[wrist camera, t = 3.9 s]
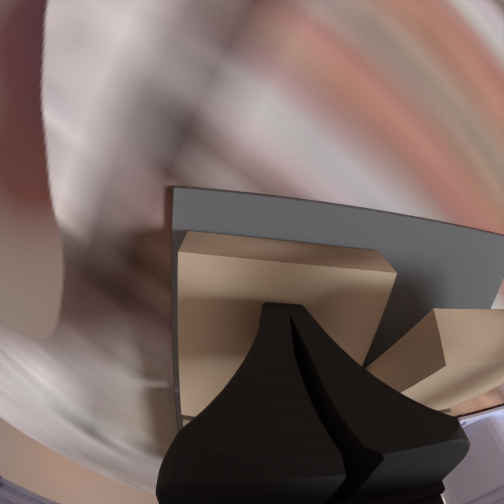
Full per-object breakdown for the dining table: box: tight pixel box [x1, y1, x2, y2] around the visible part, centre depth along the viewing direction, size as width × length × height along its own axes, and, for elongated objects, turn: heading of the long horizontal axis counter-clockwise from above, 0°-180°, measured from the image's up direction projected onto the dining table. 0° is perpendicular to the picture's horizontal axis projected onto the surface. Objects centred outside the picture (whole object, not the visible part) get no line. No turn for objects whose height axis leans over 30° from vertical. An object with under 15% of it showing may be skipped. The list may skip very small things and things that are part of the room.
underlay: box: [171, 186, 504, 432], centre depth 15 cm, size 16×18×1 cm
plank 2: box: [365, 308, 504, 410], centre depth 11 cm, size 7×8×2 cm
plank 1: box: [178, 231, 397, 417], centre depth 12 cm, size 7×8×2 cm
